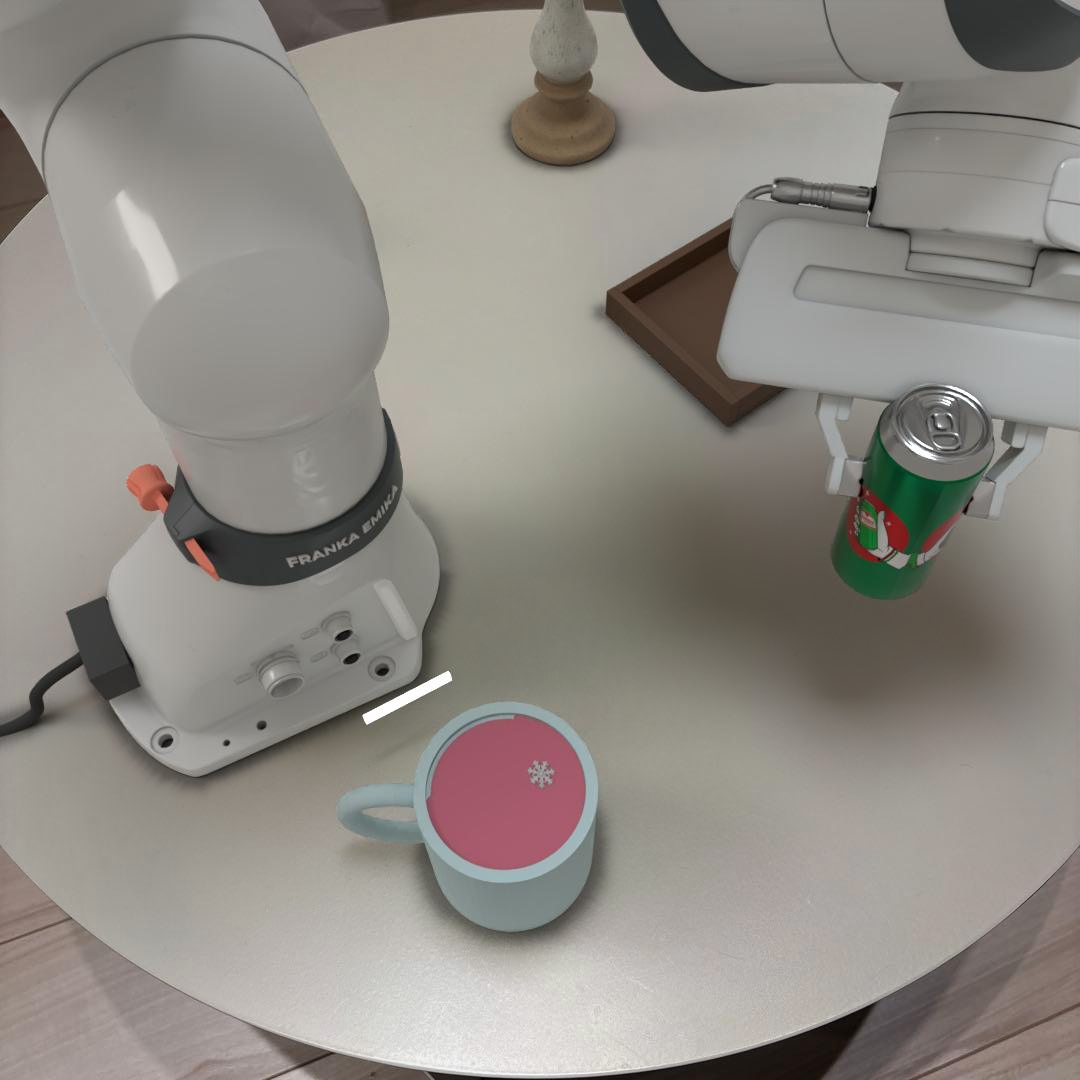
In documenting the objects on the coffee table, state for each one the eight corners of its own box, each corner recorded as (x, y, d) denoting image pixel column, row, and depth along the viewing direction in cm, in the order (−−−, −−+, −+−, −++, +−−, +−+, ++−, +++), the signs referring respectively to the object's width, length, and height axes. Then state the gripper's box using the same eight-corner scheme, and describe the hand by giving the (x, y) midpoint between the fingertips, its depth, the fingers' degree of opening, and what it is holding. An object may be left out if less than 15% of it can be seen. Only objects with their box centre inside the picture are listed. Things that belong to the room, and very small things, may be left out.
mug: (593, 772, 67) (599, 704, 59) (591, 934, 62) (597, 886, 54) (362, 765, 68) (334, 696, 59) (342, 925, 63) (309, 876, 54)
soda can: (918, 522, 61) (990, 375, 50) (934, 605, 58) (1014, 468, 48) (822, 522, 61) (874, 376, 50) (835, 606, 58) (892, 469, 48)
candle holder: (509, 165, 95) (498, -74, 78) (514, 97, 100) (505, -144, 82) (614, 167, 95) (627, -73, 77) (615, 98, 99) (627, -143, 82)
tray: (727, 426, 80) (731, 405, 78) (605, 313, 86) (606, 290, 84) (872, 329, 85) (880, 307, 83) (747, 228, 91) (751, 205, 89)
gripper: (741, 163, 49) (687, 480, 52) (1248, 228, 46) (1158, 557, 49) (739, 177, 55) (691, 459, 58) (1187, 234, 52) (1110, 527, 55)
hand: (909, 505), depth 54 cm, fingers closed on soda can, 5 cm apart
